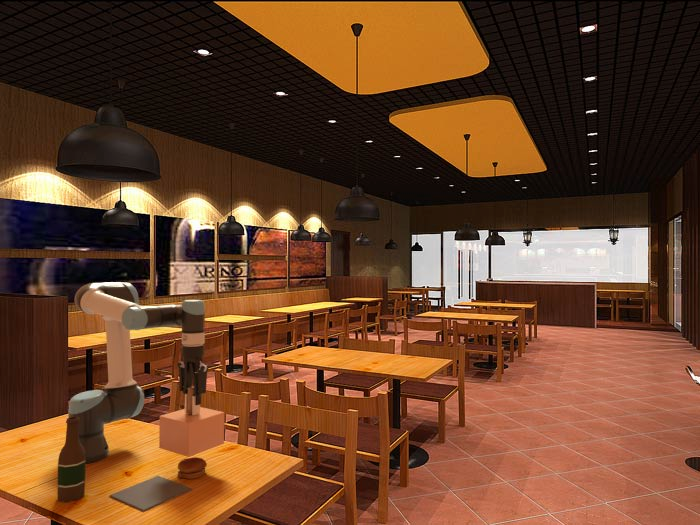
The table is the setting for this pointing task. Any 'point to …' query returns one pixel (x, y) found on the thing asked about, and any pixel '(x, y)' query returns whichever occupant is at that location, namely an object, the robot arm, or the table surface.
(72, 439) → the beer bottle
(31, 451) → the table surface
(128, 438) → the table surface
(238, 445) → the table surface
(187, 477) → the burger
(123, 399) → the robot arm
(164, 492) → the mat
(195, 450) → the pink box with peg
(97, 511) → the table surface
